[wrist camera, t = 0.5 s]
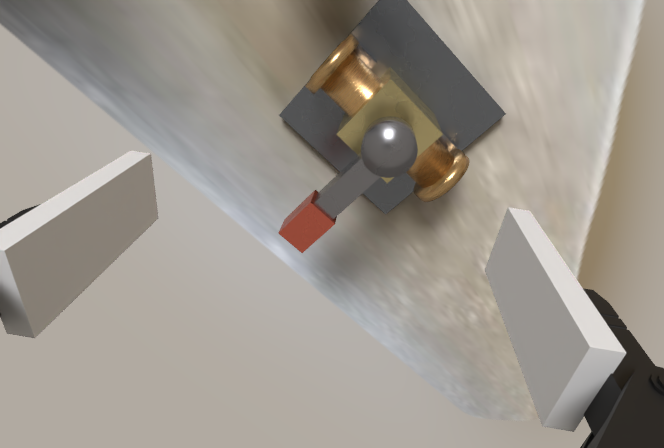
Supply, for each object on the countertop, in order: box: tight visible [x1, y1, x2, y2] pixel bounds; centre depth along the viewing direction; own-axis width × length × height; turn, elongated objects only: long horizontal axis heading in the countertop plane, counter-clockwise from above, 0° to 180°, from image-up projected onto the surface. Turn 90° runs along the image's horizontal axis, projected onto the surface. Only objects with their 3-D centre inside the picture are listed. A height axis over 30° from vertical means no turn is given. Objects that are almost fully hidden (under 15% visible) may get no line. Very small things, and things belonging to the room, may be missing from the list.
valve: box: [279, 0, 506, 214], centre depth 35 cm, size 15×15×10 cm
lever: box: [279, 116, 418, 253], centre depth 32 cm, size 13×4×2 cm, turn 137°
